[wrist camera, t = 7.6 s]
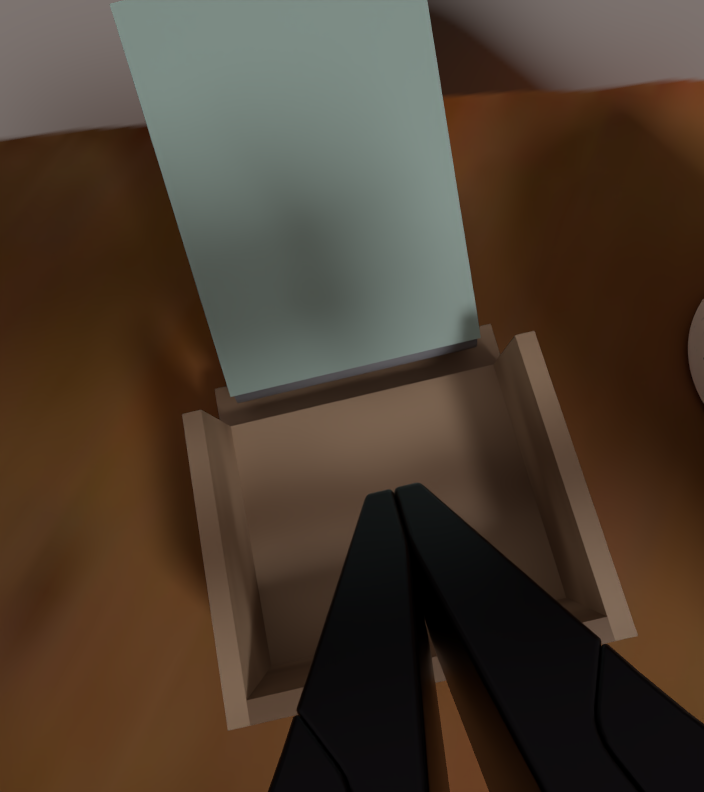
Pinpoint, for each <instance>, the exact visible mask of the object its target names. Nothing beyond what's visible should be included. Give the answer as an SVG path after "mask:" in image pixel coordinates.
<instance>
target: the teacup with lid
mask: <svg viewBox="0 0 704 792" xmlns="http://www.w3.org/2000/svg"><path fill="white" fill-rule="evenodd" d="M688 361H689V367H690V372H691V375H692V379H693V382H694V385H695V387H696V390H697V392H698V394H699V396H700V398H701V400H702V402H703V403H704V299H703V300H702V302H701V303H700V305H699V307H698V309H697V311H696V313H695V315H694V318H693V320H692V324H691V327H690V332H689V337H688Z"/></svg>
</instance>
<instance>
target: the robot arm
mask: <svg viewBox="0 0 704 792" xmlns="http://www.w3.org/2000/svg"><path fill="white" fill-rule="evenodd" d="M425 621H426V622H425ZM426 625H427V627H426ZM427 628H428V632H429V635H430V638H431V641H432V644H433V647H434V649H435V652H436V655H437V657H438V660H439V663H440V665H441V668H442V670H443V673H444V676H445V678H446V681H447V683H448V686H449V688H450V691H451V694H452V696H453V699H454V701H455V704H456V707H457V709H458V712H459V714H460V717H461V720H462V722H463V725H464V727H465V730H466V732H467V735H468V738H469V740H470V743H471V745H472V748H473V751H474V753H475V756H476V758H477V761H478V764H479V766H480V769H481V771H482V774H483V776H484V779H485V782H486V784H487V787H488V789H489V792H704V724H703V723H702V722H701V721H699V720H698V719H697V718H695V717H694V716H693V715H691V714H690V713H689V712H687V711H686V710H685V709H684V708H683V707H681V706H680V705H679V704H678V703H677V702H675V701H674V700H673V699H672V698H670V697H669V696H668V695H667V694H666V693H664V692H663V691H662V690H661V689H660V688H658V687H657V686H656V685H655V684H653V683H652V682H651V681H650V680H649V679H647V678H646V677H645V676H644V675H643V674H641V673H640V672H639V671H638V670H637V669H635V668H634V667H633V666H632V665H631V664H630V663H629V662H627V661H626V660H625V659H624V658H623V657H622V656H621V655H619V654H618V653H617V652H616V651H615V650H614V649H613V648H611V647H610V646H609V645H608V644H603V645H602V646H601V643H602V641H601V639H600V638H599V637H598V636H597V635H596V634H595V633H594V632H592V631H591V630H590V629H589V628H588V627H587V626H586V625H584V624H583V623H582V622H581V621H580V620H579V619H578V618H576V617H575V616H574V615H573V614H572V613H571V612H569V611H568V610H567V609H566V608H565V607H564V606H563V605H561V604H560V603H559V602H558V601H557V600H556V599H554V598H553V597H552V596H551V595H550V594H549V593H547V592H546V591H545V590H544V589H543V588H542V587H541V586H539V585H538V584H537V583H536V582H535V581H534V580H532V579H531V578H530V577H529V576H528V575H527V574H526V573H524V572H523V571H522V570H521V569H520V568H519V567H517V566H516V565H515V564H514V563H513V562H512V561H511V560H509V559H508V558H507V557H506V556H505V555H504V554H502V553H501V552H500V551H499V550H498V549H497V548H496V547H494V546H493V545H492V544H491V543H490V542H489V541H487V540H486V539H485V538H484V537H483V536H482V535H481V534H479V533H478V532H477V531H476V530H475V529H474V528H472V527H471V526H470V525H469V524H468V523H467V522H466V521H464V520H463V519H462V518H461V517H460V516H459V515H457V514H456V513H455V512H454V511H453V510H452V509H451V508H449V507H448V506H447V505H446V504H445V503H444V502H442V501H441V500H440V499H439V498H438V497H437V496H436V495H434V494H433V493H432V492H431V491H430V490H429V489H427V488H426V487H425V486H424V485H423V484H421V483H412V484H408V485H404V486H399V487H397V488H396V489H395V490H394V492H393V491H392V490H391V489H387V490H382V491H378V492H374V493H370V494H368V495H367V496H366V497H365V500H364V503H363V506H362V509H361V512H360V515H359V518H358V521H357V524H356V527H355V530H354V533H353V536H352V540H351V543H350V546H349V549H348V552H347V555H346V558H345V561H344V564H343V567H342V570H341V573H340V576H339V579H338V582H337V586H336V589H335V592H334V595H333V598H332V601H331V604H330V607H329V610H328V613H327V616H326V619H325V622H324V625H323V629H322V632H321V635H320V638H319V641H318V644H317V647H316V650H315V653H314V656H313V659H312V662H311V665H310V668H309V671H308V675H307V678H306V681H305V684H304V687H303V690H302V693H301V696H300V699H299V702H298V705H297V709H296V711H297V714H298V715H296V716H294V717H293V720H292V723H291V726H290V729H289V732H288V735H287V738H286V741H285V744H284V747H283V750H282V753H281V756H280V759H279V762H278V765H277V767H276V770H275V773H274V776H273V779H272V781H271V784H270V787H269V790H268V792H450V789H449V782H448V774H447V767H446V759H445V752H444V744H443V737H442V730H441V722H440V715H439V707H438V700H437V692H436V685H435V678H434V670H433V663H432V655H431V649H430V643H429V637H428V632H427Z"/></svg>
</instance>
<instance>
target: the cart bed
mask: <svg viewBox="0 0 704 792" xmlns="http://www.w3.org/2000/svg"><path fill="white" fill-rule="evenodd" d="M479 329H480V335H481V338H478V339H477V346H476V347H474V348H470V349H466V350H462V351H457V352H453V353H449V354H445V355H440V356H436V357H432V358H428V359H423V360H419V361H415V362H411V363H407V364H402V365H398V366H394V367H390V368H385V369H381V370H377V371H373V372H369V373H364V374H360V375H356V376H352V377H347V378H343V379H339V380H335V381H330V382H326V383H322V384H318V385H314V386H309V387H305V388H301V389H297V390H292V391H288V392H284V393H280V394H275V395H271V396H267V397H263V398H259V399H254V400H250V401H246V402H242V403H237V401H236V399H235V397H234V396H233V397H230V393H229V390H228V387H227V386H225V387H221V388H217V389H215V395H216V401H217V407H218V413H219V419H220V420H219V419H217V418H215V417H213V416H212V415H210V414H208V413H206V412H204V411H203V410H197V411H193V412H189V413H185V414H182V418H183V424H184V431H185V438H186V445H187V452H188V459H189V466H190V473H191V480H192V486H193V493H194V500H195V507H196V514H197V521H198V528H199V535H200V542H201V548H202V555H203V562H204V569H205V576H206V583H207V590H208V597H209V604H210V610H211V617H212V624H213V631H214V638H215V645H216V652H217V659H218V665H219V672H220V679H221V686H222V693H223V700H224V707H225V714H226V721H227V727H228V731H229V730H233V729H237V728H242V727H246V726H250V725H255V724H259V723H263V722H268V721H272V720H276V719H281V718H285V717H289V716H294V715H298V714H297V711H296V709H297V705H298V702H299V699H300V696H301V693H302V690H303V687H304V684H305V681H306V678H307V675H308V671H309V668H310V665H311V662H312V659H313V656H314V653H315V650H316V647H317V644H318V641H319V638H320V635H321V632H322V629H323V625H324V622H325V619H326V616H327V613H328V610H329V607H330V604H331V601H332V598H333V595H334V592H335V589H336V586H337V582H338V579H339V576H340V573H341V570H342V567H343V564H344V561H345V558H346V555H347V552H348V549H349V546H350V543H351V540H352V536H353V533H354V530H355V527H356V524H357V521H358V518H359V515H360V512H361V509H362V506H363V503H364V500H365V497H366V496H367V495H368V494H370V493H374V492H378V491H382V490H387V489H391V490H392V491H393V492H394V490H395V489H396V488H397V487H399V486H404V485H408V484H412V483H421V484H423V485H424V486H425V487H426V488H427V489H429V490H430V491H431V492H432V493H433V494H434V495H436V496H437V497H438V498H439V499H440V500H441V501H442V502H444V503H445V504H446V505H447V506H448V507H449V508H451V509H452V510H453V511H454V512H455V513H456V514H457V515H459V516H460V517H461V518H462V519H463V520H464V521H466V522H467V523H468V524H469V525H470V526H471V527H472V528H474V529H475V530H476V531H477V532H478V533H479V534H481V535H482V536H483V537H484V538H485V539H486V540H487V541H489V542H490V543H491V544H492V545H493V546H494V547H496V548H497V549H498V550H499V551H500V552H501V553H502V554H504V555H505V556H506V557H507V558H508V559H509V560H511V561H512V562H513V563H514V564H515V565H516V566H517V567H519V568H520V569H521V570H522V571H523V572H524V573H526V574H527V575H528V576H529V577H530V578H531V579H532V580H534V581H535V582H536V583H537V584H538V585H539V586H541V587H542V588H543V589H544V590H545V591H546V592H547V593H549V594H550V595H551V596H552V597H553V598H554V599H556V600H557V601H558V602H559V603H560V604H561V605H563V606H564V607H565V608H566V609H567V610H568V611H569V612H571V613H572V614H573V615H574V616H575V617H576V618H578V619H579V620H580V621H581V622H582V623H583V624H584V625H586V626H587V627H588V628H589V629H590V630H591V631H592V632H594V633H595V634H596V635H597V636H598V637H599V638H600V639H601V641H602V643H601V644H605V643H609V642H613V641H618V640H622V639H626V638H631V637H635V636H638V634H637V631H636V628H635V626H634V623H633V620H632V617H631V614H630V611H629V608H628V605H627V602H626V599H625V596H624V593H623V590H622V587H621V584H620V581H619V578H618V575H617V573H616V570H615V567H614V564H613V561H612V558H611V555H610V552H609V549H608V546H607V543H606V540H605V537H604V534H603V531H602V528H601V525H600V523H599V520H598V517H597V514H596V511H595V508H594V505H593V502H592V499H591V496H590V493H589V490H588V487H587V484H586V481H585V478H584V475H583V472H582V470H581V467H580V464H579V461H578V458H577V455H576V452H575V449H574V446H573V443H572V440H571V437H570V434H569V431H568V428H567V425H566V422H565V420H564V417H563V414H562V411H561V408H560V405H559V402H558V399H557V396H556V393H555V390H554V387H553V384H552V381H551V378H550V375H549V372H548V369H547V367H546V364H545V361H544V358H543V355H542V352H541V349H540V346H539V343H538V340H537V337H536V334H535V331H531V332H527V333H523V334H519V335H515V336H514V337H513V339H512V340H511V341H510V343H509V344H508V345H507V347H506V348H505V350H504V351H503V352H502V354H501V355H500V352H499V349H498V346H497V342H496V339H495V336H494V333H493V330H492V327H491V324H487V325H483V326H479ZM425 622H426V621H425ZM426 627H427V625H426ZM427 632H428V628H427ZM428 637H429V643H430V649H431V655H432V663H433V670H434V678H435V683H436V682H441V681H445V680H446V678H445V676H444V673H443V670H442V668H441V665H440V663H439V660H438V657H437V655H436V652H435V649H434V647H433V644H432V641H431V638H430V635H429V632H428Z"/></svg>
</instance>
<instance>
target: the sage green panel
mask: <svg viewBox="0 0 704 792" xmlns="http://www.w3.org/2000/svg"><path fill="white" fill-rule="evenodd" d="M110 6H111V10H112V13H113V16H114V20H115V23H116V26H117V29H118V33H119V36H120V39H121V42H122V46H123V49H124V52H125V55H126V59H127V62H128V65H129V68H130V72H131V75H132V78H133V81H134V85H135V88H136V91H137V94H138V97H139V101H140V104H141V107H142V111H143V114H144V117H145V120H146V124H147V127H148V130H149V133H150V137H151V140H152V143H153V146H154V150H155V153H156V156H157V159H158V163H159V166H160V169H161V172H162V176H163V179H164V182H165V185H166V189H167V192H168V195H169V198H170V202H171V205H172V208H173V211H174V215H175V218H176V221H177V224H178V228H179V231H180V234H181V237H182V241H183V244H184V247H185V250H186V254H187V257H188V260H189V263H190V267H191V270H192V273H193V276H194V280H195V283H196V286H197V289H198V293H199V296H200V299H201V302H202V306H203V309H204V312H205V315H206V319H207V322H208V325H209V328H210V332H211V335H212V338H213V341H214V345H215V348H216V351H217V354H218V358H219V361H220V364H221V367H222V371H223V374H224V377H225V380H226V384H227V387H228V390H229V393H230V397H233V396H234V397H235V399H236V401H237V403H242V402H246V401H250V400H254V399H259V398H263V397H267V396H271V395H275V394H280V393H284V392H288V391H292V390H297V389H301V388H305V387H309V386H314V385H318V384H322V383H326V382H330V381H335V380H339V379H343V378H347V377H352V376H356V375H360V374H364V373H369V372H373V371H377V370H381V369H385V368H390V367H394V366H398V365H402V364H407V363H411V362H415V361H419V360H423V359H428V358H432V357H436V356H440V355H445V354H449V353H453V352H457V351H462V350H466V349H470V348H474V347H476V346H477V339H478V338H481V335H480V329H479V323H478V317H477V310H476V304H475V298H474V291H473V285H472V279H471V273H470V266H469V260H468V254H467V248H466V241H465V235H464V229H463V222H462V216H461V210H460V204H459V197H458V191H457V185H456V179H455V172H454V166H453V160H452V154H451V147H450V141H449V135H448V128H447V122H446V116H445V110H444V103H443V97H442V91H441V85H440V78H439V72H438V66H437V59H436V53H435V47H434V41H433V34H432V29H431V22H430V16H429V9H428V3H427V0H124V1H120V2H116V3H112V4H110Z"/></svg>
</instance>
